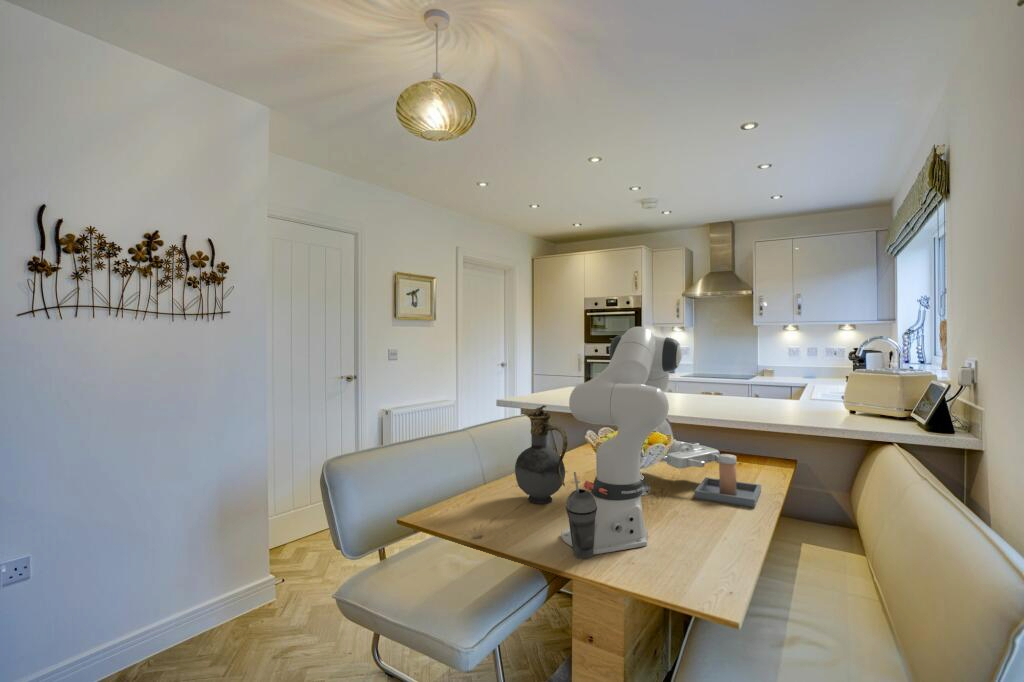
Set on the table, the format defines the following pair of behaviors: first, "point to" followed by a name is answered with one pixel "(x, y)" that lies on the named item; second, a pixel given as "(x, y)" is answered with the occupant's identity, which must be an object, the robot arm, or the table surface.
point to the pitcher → (541, 461)
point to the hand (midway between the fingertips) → (712, 462)
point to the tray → (744, 497)
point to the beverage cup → (581, 521)
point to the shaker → (727, 474)
